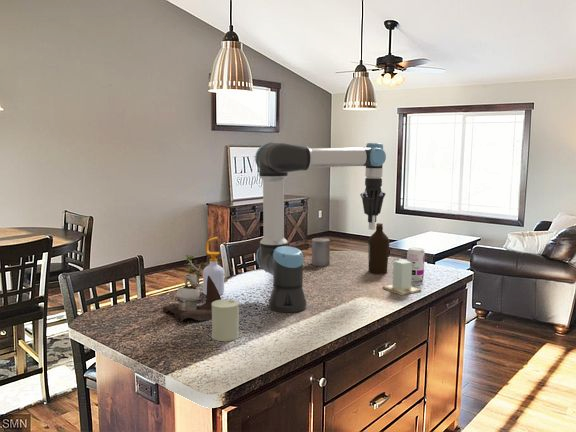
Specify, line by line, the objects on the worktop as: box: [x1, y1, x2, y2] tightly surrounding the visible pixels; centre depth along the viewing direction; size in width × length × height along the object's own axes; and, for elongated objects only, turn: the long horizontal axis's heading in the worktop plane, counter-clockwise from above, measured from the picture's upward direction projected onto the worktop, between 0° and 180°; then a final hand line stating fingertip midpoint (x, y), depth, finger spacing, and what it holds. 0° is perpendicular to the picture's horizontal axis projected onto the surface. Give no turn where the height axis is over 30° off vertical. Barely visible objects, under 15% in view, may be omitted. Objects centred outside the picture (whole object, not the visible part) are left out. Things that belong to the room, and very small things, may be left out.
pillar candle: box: [311, 237, 331, 267], centre depth 282 cm, size 10×10×15 cm
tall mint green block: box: [392, 259, 412, 290], centre depth 234 cm, size 6×6×12 cm
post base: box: [382, 284, 422, 296], centre depth 234 cm, size 12×12×8 cm
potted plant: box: [162, 254, 222, 324], centre depth 200 cm, size 20×19×25 cm
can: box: [211, 298, 240, 342], centre depth 175 cm, size 9×9×12 cm
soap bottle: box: [202, 236, 225, 296], centre depth 224 cm, size 9×9×25 cm
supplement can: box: [406, 247, 426, 282], centre depth 253 cm, size 8×8×15 cm
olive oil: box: [367, 222, 390, 275], centre depth 266 cm, size 11×11×25 cm
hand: (371, 229), depth 237 cm, fingers closed
